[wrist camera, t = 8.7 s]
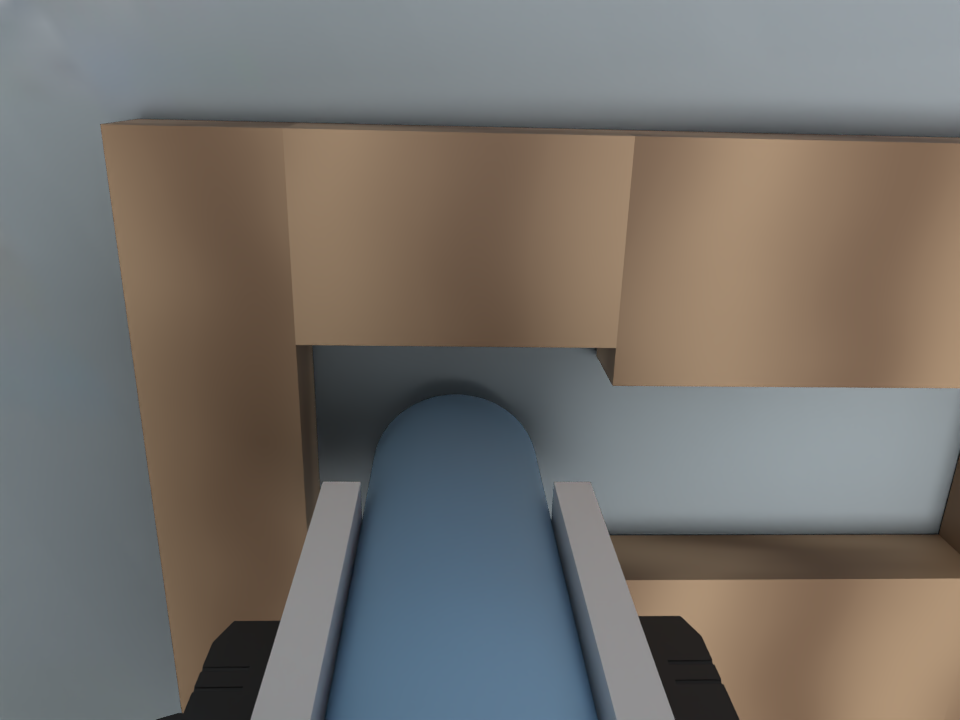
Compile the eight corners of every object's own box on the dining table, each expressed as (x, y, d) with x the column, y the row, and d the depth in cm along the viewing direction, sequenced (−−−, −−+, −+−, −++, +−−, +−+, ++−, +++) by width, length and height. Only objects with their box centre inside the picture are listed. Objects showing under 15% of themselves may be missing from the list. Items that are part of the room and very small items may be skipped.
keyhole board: (209, 696, 22) (187, 753, 20) (138, 118, 17) (100, 124, 15) (1009, 687, 24) (1058, 740, 22) (1187, 142, 18) (1274, 150, 16)
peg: (375, 540, 20) (228, 1493, 6) (370, 393, 18) (174, 1226, 5) (532, 539, 20) (705, 1466, 7) (540, 394, 18) (779, 1200, 5)
